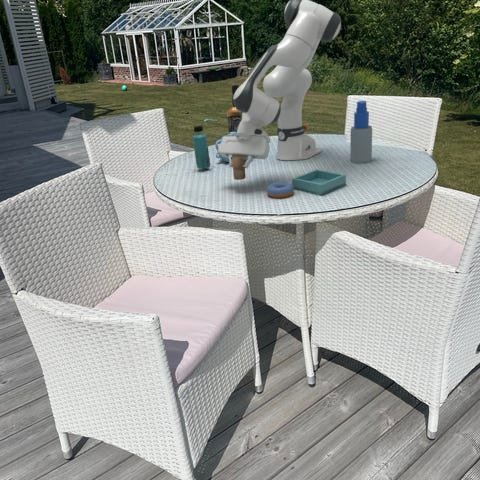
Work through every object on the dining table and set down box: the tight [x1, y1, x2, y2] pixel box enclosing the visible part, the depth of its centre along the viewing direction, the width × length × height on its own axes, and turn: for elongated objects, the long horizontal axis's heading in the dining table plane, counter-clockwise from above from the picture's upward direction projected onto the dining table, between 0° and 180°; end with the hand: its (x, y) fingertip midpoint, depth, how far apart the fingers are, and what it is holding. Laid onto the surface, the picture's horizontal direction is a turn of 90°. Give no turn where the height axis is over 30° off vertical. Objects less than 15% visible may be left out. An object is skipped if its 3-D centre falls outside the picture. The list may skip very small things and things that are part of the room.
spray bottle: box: [349, 100, 373, 165], centre depth 190 cm, size 9×9×25 cm
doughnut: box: [266, 181, 295, 199], centre depth 165 cm, size 10×10×5 cm
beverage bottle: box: [192, 125, 211, 170], centre depth 202 cm, size 6×7×20 cm
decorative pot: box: [214, 132, 248, 164], centre depth 214 cm, size 16×16×14 cm
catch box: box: [291, 169, 347, 196], centre depth 168 cm, size 14×14×4 cm
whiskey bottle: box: [226, 84, 243, 134], centre depth 232 cm, size 10×10×32 cm
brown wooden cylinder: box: [232, 156, 247, 181], centre depth 169 cm, size 4×4×8 cm
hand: (238, 167), depth 168 cm, fingers closed on brown wooden cylinder, 4 cm apart
